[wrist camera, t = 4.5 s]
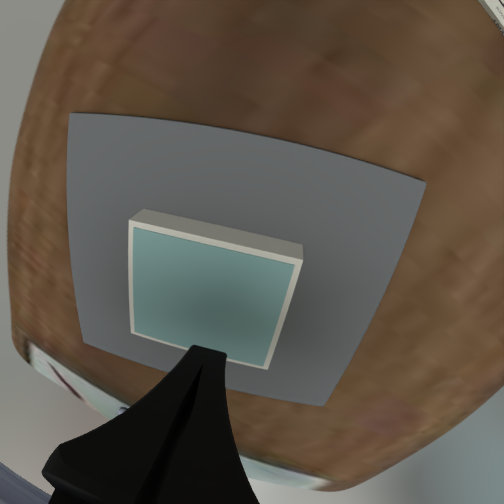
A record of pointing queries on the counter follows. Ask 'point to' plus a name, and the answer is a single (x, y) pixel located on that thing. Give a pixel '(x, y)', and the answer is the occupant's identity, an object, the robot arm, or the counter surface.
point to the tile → (209, 285)
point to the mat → (242, 218)
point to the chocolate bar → (495, 11)
